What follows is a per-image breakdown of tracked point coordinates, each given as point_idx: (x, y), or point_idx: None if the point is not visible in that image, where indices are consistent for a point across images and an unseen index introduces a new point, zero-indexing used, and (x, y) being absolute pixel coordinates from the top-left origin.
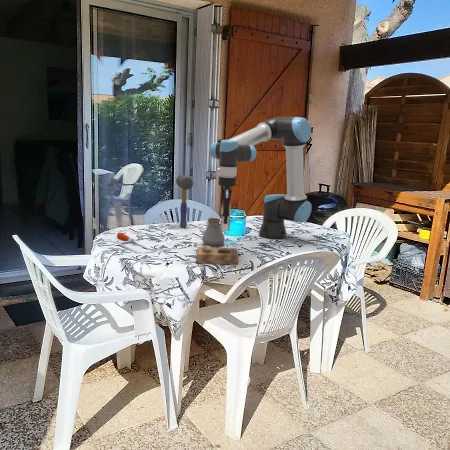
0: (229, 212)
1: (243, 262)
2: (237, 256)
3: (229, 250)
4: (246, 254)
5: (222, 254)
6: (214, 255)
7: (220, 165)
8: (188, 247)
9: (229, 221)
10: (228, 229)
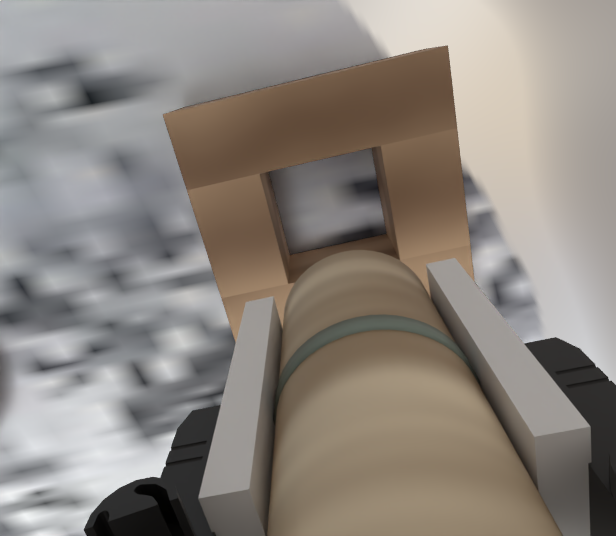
0: (519, 523)
1: (334, 5)
2: (445, 53)
3: (260, 177)
4: (53, 21)
5: (436, 212)
6: (472, 273)
7: None
8: (100, 496)
9: (422, 330)
10: (402, 268)
